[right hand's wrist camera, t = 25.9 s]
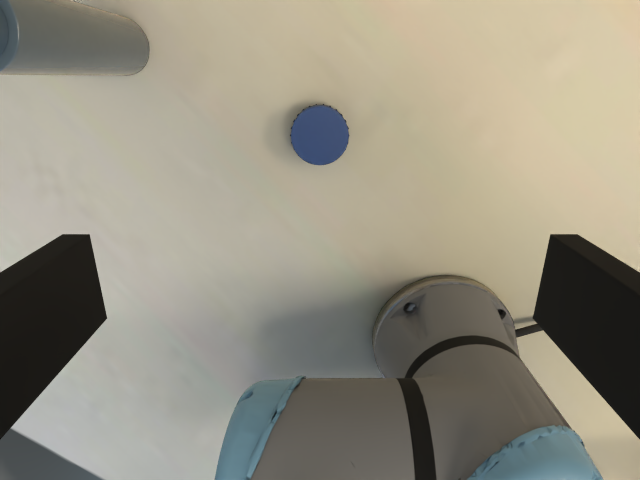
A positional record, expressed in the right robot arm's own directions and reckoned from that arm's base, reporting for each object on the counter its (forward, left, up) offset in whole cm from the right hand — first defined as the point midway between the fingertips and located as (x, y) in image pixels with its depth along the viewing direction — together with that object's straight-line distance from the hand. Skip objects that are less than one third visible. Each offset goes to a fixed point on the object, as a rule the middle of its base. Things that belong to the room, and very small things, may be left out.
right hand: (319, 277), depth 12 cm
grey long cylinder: (+18, -6, -30) cm, 35 cm away
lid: (0, 0, -28) cm, 28 cm away
